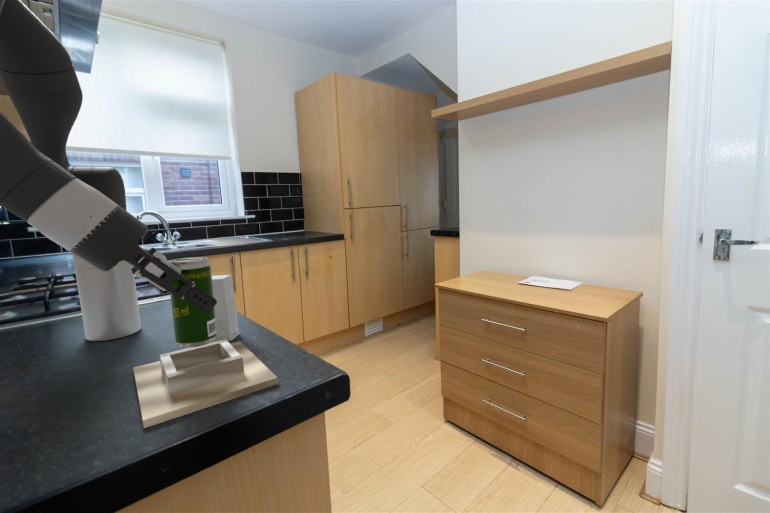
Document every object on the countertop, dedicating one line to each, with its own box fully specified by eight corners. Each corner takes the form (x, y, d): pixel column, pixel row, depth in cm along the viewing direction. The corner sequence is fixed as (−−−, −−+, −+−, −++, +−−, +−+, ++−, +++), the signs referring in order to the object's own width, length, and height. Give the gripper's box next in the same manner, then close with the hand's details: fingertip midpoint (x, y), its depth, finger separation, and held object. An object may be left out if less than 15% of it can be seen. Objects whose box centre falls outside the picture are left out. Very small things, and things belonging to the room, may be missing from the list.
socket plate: (134, 373, 57) (131, 352, 56) (240, 346, 66) (238, 327, 66) (143, 428, 43) (139, 400, 42) (277, 384, 52) (276, 360, 52)
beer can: (222, 334, 56) (215, 256, 55) (209, 347, 51) (201, 261, 49) (185, 336, 56) (177, 257, 54) (168, 349, 51) (158, 263, 49)
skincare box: (240, 333, 73) (234, 273, 71) (230, 342, 69) (224, 278, 67) (209, 334, 73) (202, 274, 71) (197, 343, 69) (190, 279, 67)
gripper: (117, 201, 41) (239, 290, 49) (114, 204, 52) (213, 276, 61) (61, 254, 38) (199, 338, 47) (70, 245, 50) (181, 313, 58)
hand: (207, 302), depth 54 cm, fingers closed on beer can, 5 cm apart
